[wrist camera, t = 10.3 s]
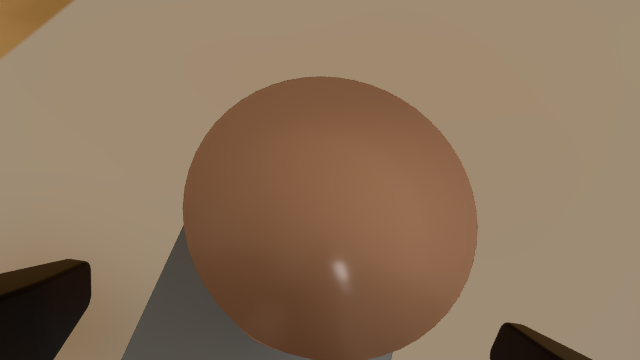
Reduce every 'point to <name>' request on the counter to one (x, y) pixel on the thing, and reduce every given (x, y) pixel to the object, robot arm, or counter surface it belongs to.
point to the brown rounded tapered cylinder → (330, 219)
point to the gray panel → (192, 321)
